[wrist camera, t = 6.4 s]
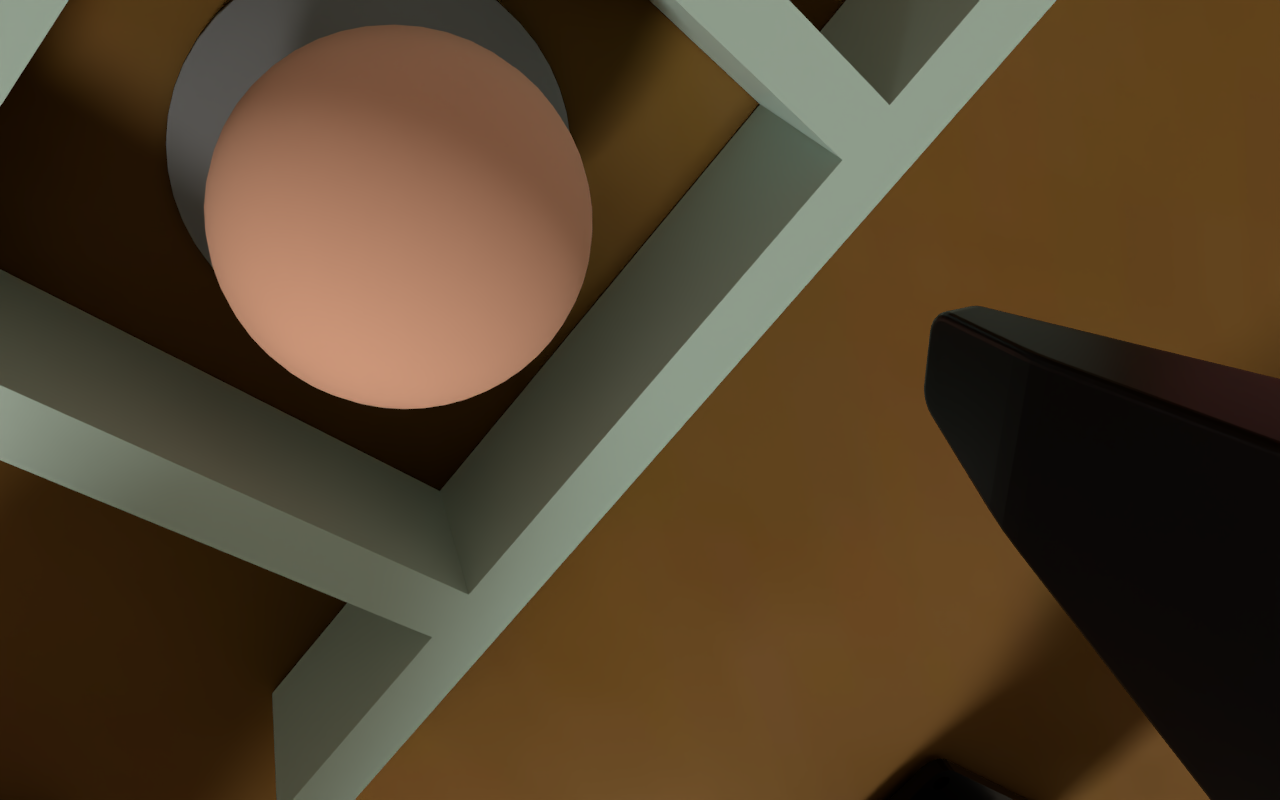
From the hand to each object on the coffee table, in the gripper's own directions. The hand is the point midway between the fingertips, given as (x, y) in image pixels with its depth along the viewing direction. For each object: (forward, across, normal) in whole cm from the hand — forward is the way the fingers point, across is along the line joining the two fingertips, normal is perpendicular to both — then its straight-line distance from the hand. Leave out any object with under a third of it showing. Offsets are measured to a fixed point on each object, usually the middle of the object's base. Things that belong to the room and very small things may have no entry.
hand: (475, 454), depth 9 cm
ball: (+8, 0, 0) cm, 9 cm away
